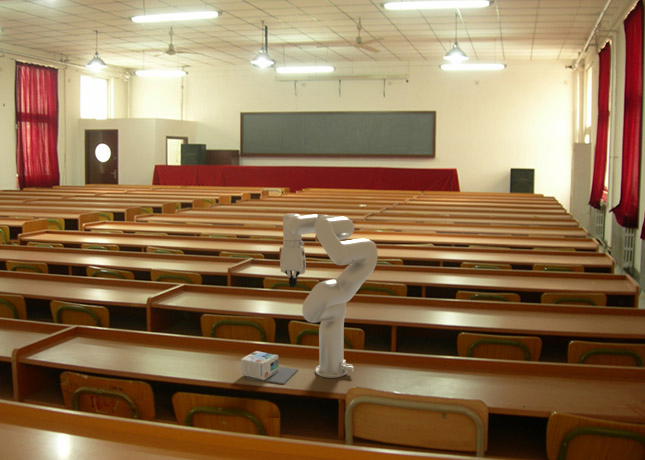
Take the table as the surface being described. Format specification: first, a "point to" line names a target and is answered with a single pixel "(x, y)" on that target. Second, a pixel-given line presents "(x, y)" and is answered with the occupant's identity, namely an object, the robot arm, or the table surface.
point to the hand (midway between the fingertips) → (293, 286)
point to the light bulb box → (259, 365)
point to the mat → (278, 376)
